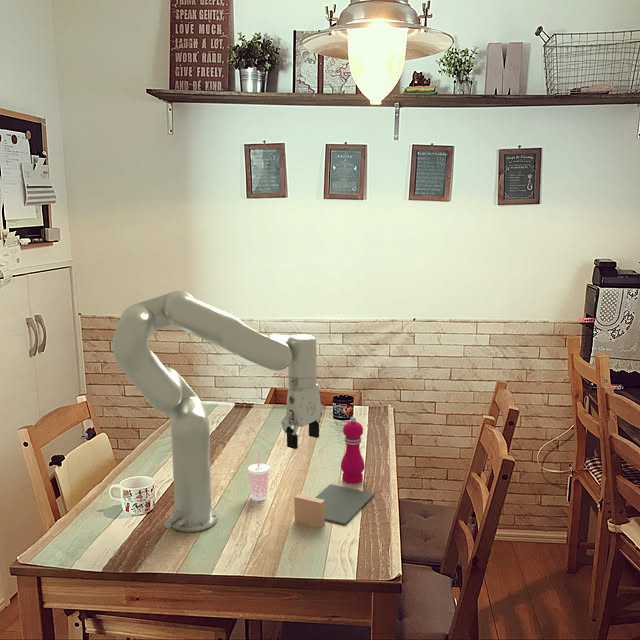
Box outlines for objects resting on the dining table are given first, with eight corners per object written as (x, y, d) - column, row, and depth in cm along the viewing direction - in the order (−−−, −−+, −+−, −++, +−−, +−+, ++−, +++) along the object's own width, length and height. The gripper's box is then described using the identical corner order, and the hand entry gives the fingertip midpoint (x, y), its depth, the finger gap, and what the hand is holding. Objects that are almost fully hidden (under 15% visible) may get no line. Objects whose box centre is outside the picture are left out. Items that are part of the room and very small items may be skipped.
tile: (321, 528, 172) (321, 503, 171) (294, 521, 176) (294, 496, 174) (324, 524, 174) (324, 500, 172) (298, 518, 177) (298, 493, 176)
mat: (345, 525, 173) (345, 523, 173) (298, 514, 179) (298, 512, 179) (374, 495, 191) (374, 493, 191) (330, 485, 197) (330, 484, 197)
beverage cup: (265, 503, 186) (264, 456, 183) (245, 500, 188) (244, 453, 185) (273, 494, 192) (272, 448, 189) (253, 491, 193) (252, 445, 191)
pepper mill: (337, 482, 199) (337, 419, 196) (344, 473, 206) (345, 412, 202) (360, 486, 197) (361, 422, 193) (367, 476, 204) (368, 414, 200)
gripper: (293, 391, 167) (294, 455, 170) (332, 376, 181) (332, 435, 184) (270, 386, 171) (272, 449, 175) (310, 372, 185) (311, 430, 188)
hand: (303, 442), depth 179 cm, fingers open, 9 cm apart
